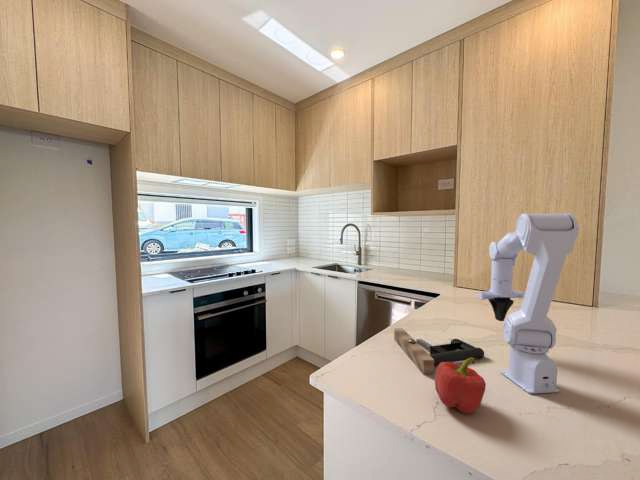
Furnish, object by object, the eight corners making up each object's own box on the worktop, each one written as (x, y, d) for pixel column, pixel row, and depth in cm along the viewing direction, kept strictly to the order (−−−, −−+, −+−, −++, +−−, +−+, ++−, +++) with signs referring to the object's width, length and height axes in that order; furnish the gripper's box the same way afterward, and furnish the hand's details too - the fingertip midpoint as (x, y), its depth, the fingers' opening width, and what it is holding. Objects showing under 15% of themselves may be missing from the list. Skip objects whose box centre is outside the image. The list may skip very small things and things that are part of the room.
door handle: (401, 338, 90) (433, 359, 74) (450, 332, 95) (489, 350, 80) (401, 348, 90) (433, 371, 75) (450, 341, 95) (489, 361, 80)
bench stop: (433, 373, 73) (434, 357, 72) (423, 374, 72) (423, 358, 72) (402, 339, 95) (402, 326, 94) (393, 339, 94) (394, 326, 94)
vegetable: (453, 384, 68) (454, 347, 67) (496, 410, 59) (498, 366, 58) (423, 398, 63) (424, 357, 62) (465, 428, 54) (467, 380, 53)
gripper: (511, 276, 91) (510, 314, 92) (472, 277, 89) (470, 316, 90) (530, 280, 84) (528, 322, 85) (487, 281, 82) (485, 324, 83)
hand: (499, 320), depth 87 cm, fingers closed
